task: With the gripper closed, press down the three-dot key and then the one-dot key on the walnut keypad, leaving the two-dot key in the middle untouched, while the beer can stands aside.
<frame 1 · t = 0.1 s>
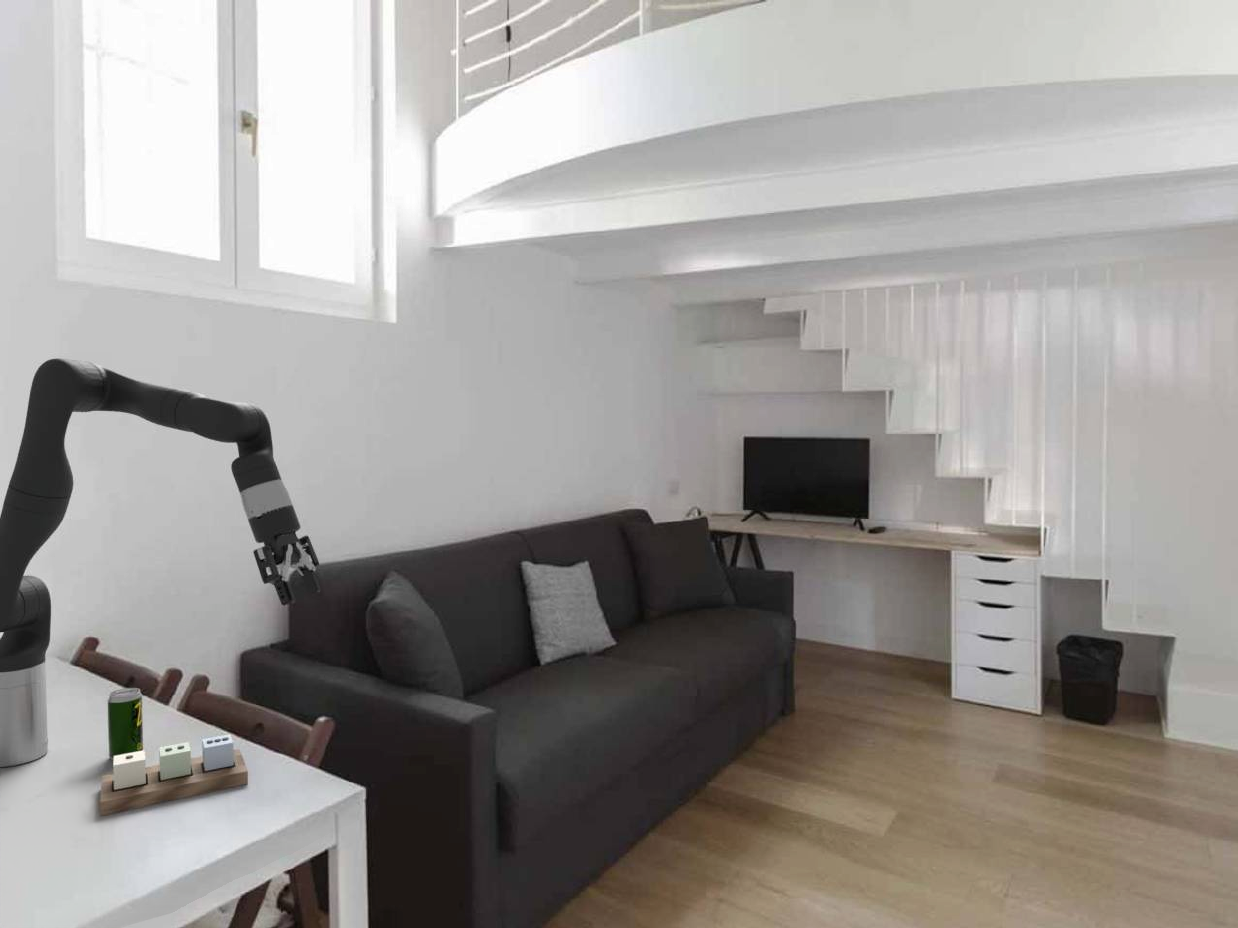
hand: (302, 598, 135), 31 cm above the table, tool tilted 20°, fingers open, 8 cm apart
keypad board: (175, 786, 132), on the table
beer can: (126, 757, 144), on the table
three dot key: (217, 751, 135), point 5 cm above the table, slide at 0.0 cm
one dot key: (129, 768, 128), point 5 cm above the table, slide at 0.0 cm
two dot key: (175, 759, 132), point 5 cm above the table, slide at 0.0 cm
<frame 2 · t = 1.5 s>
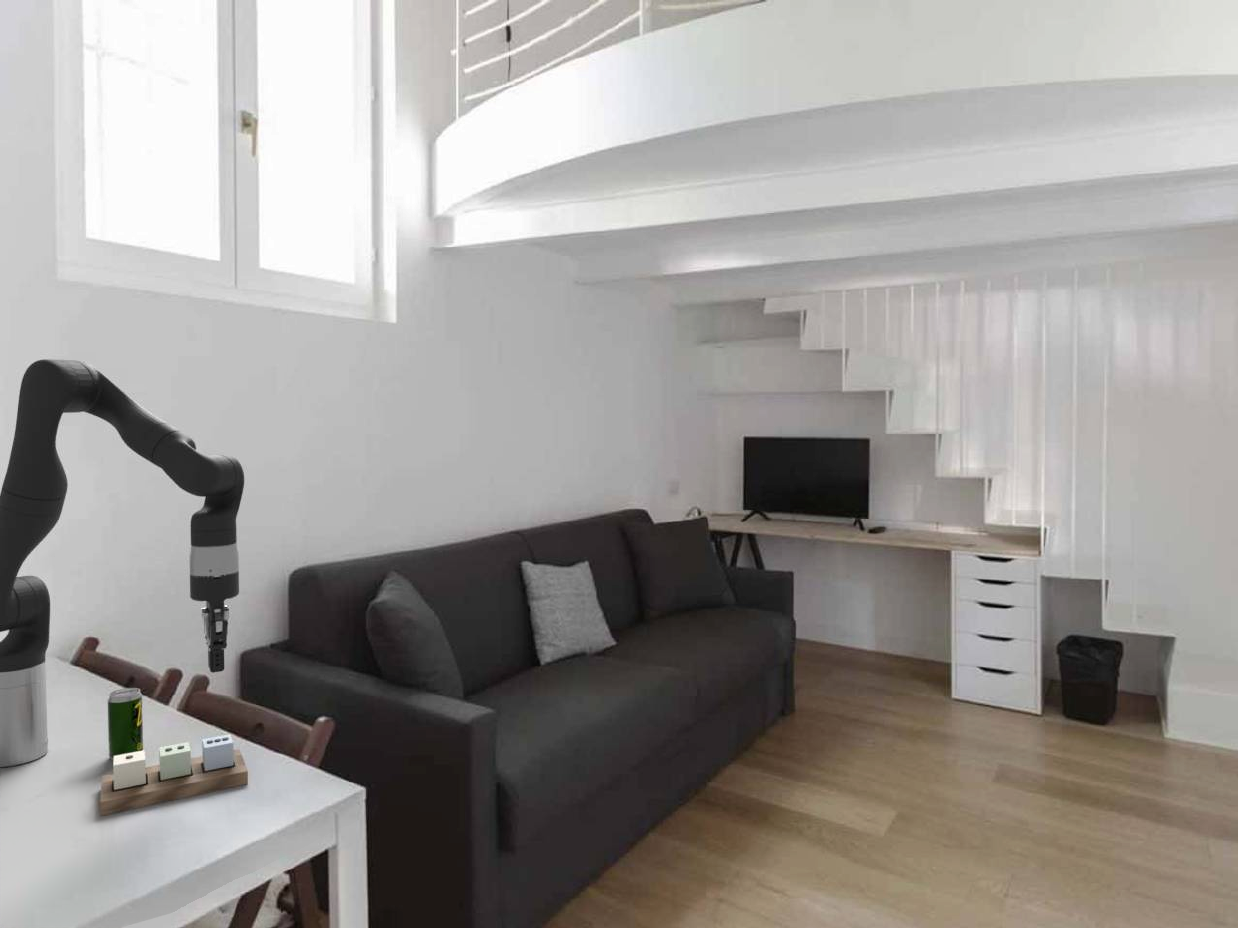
hand: (216, 669, 135), 19 cm above the table, tool pointing down, fingers closed
nothing on the table moved.
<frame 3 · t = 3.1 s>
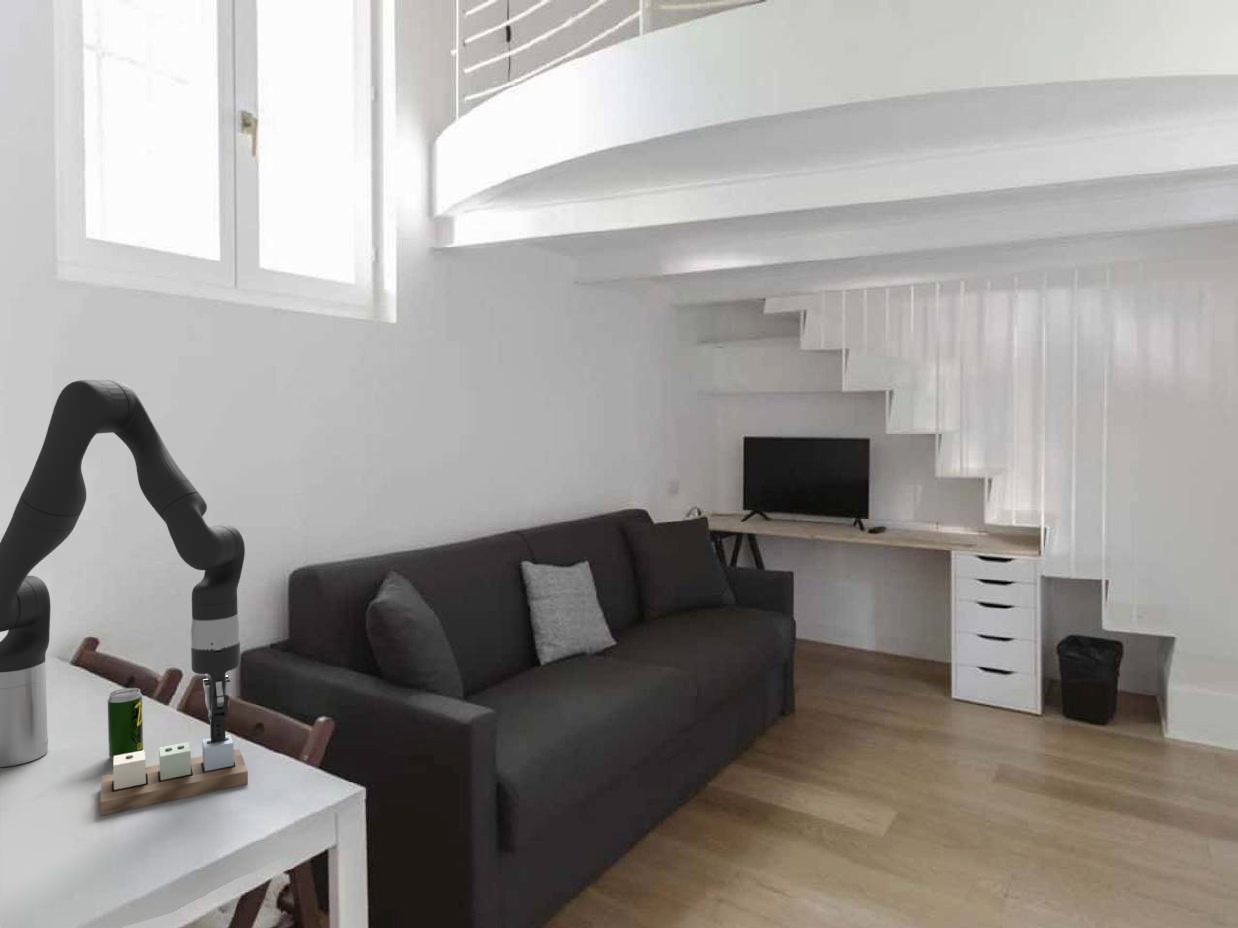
hand: (217, 740, 135), 7 cm above the table, tool pointing down, fingers closed
three dot key: (217, 751, 135), point 4 cm above the table, slide at 0.0 cm, touching gripper
everything else where it was.
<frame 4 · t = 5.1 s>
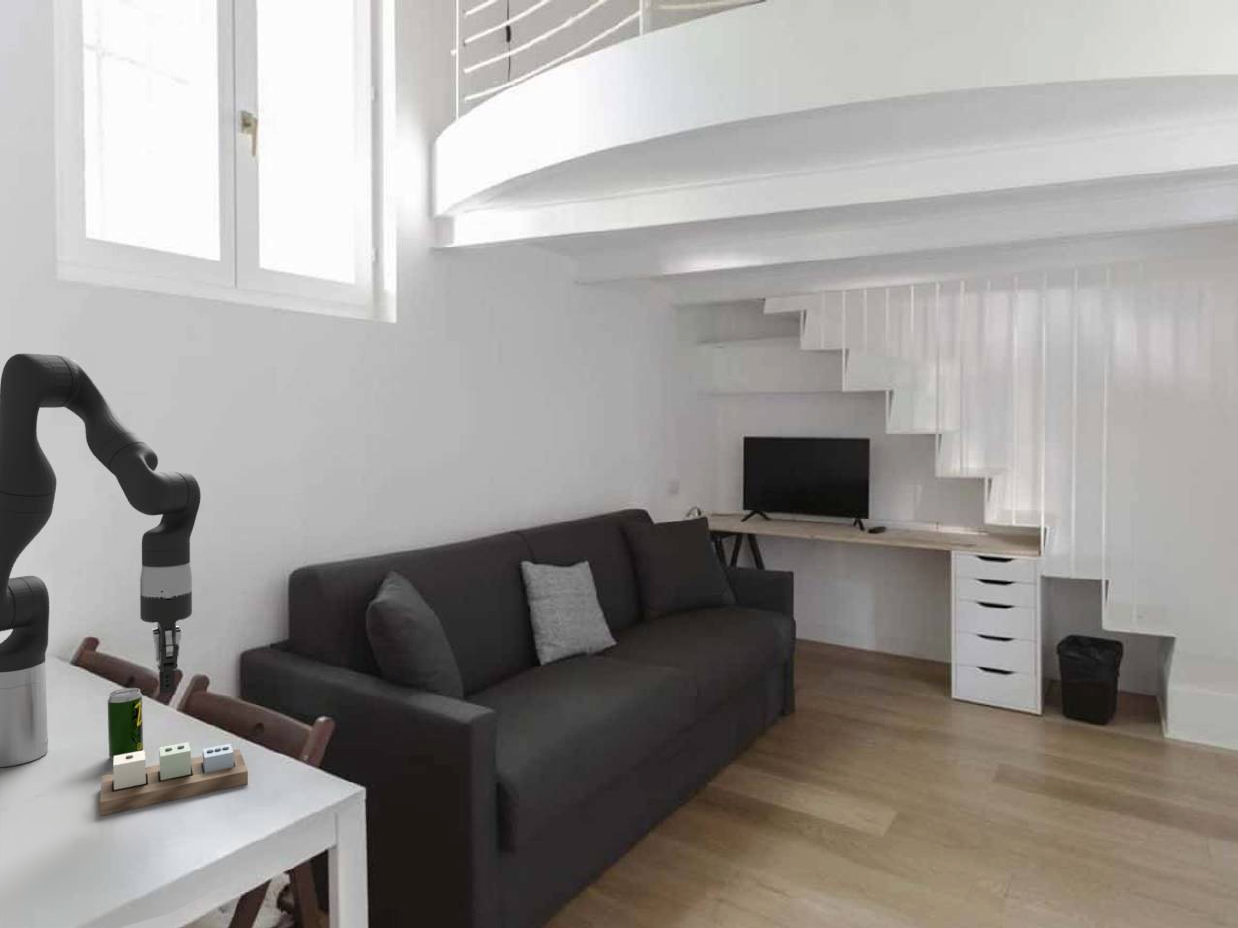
hand: (166, 691, 131), 16 cm above the table, tool pointing down, fingers closed
three dot key: (218, 761, 135), point 3 cm above the table, slide at 1.7 cm
everything else where it was.
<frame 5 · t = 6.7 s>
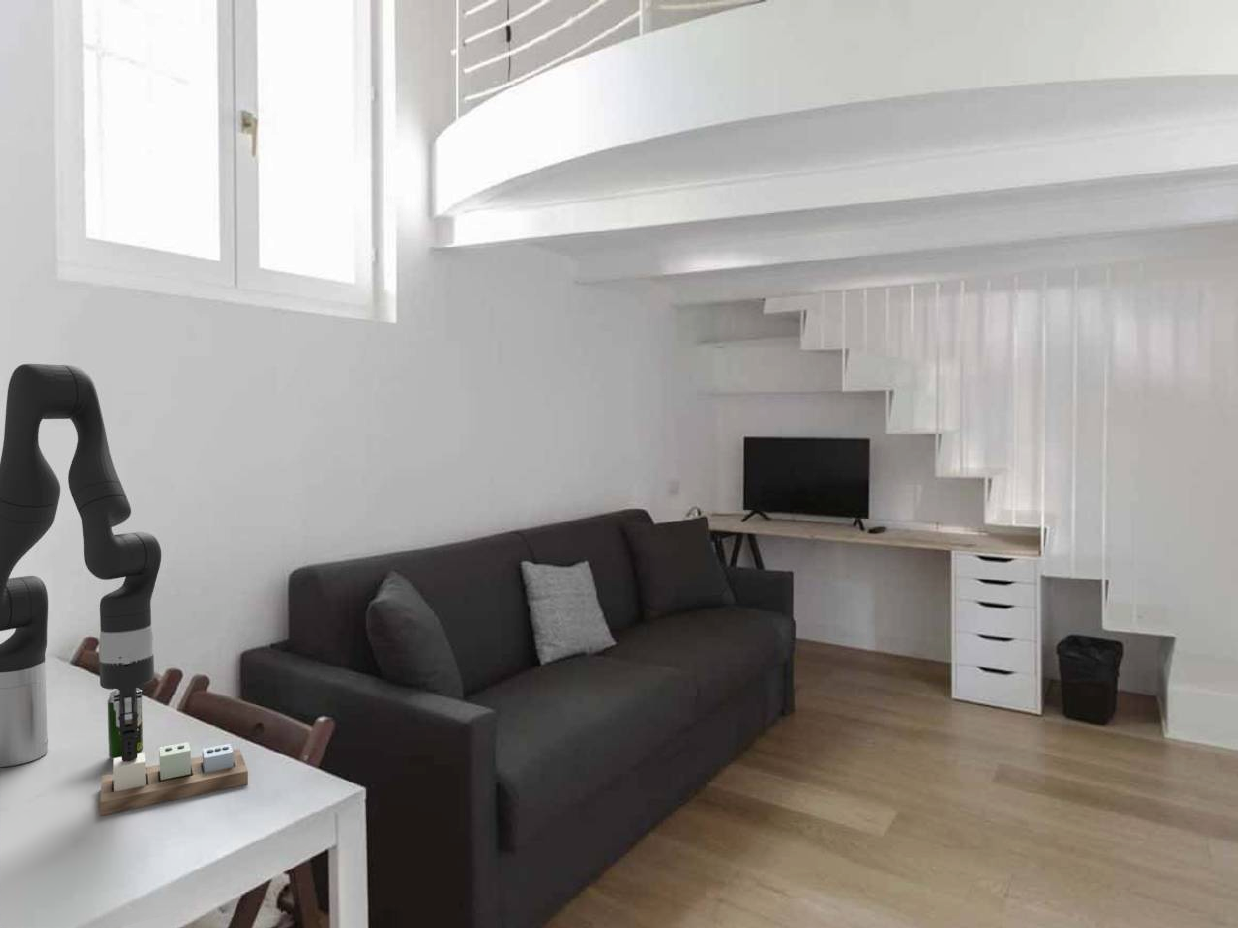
hand: (129, 758, 128), 6 cm above the table, tool pointing down, fingers closed
one dot key: (129, 771, 128), point 4 cm above the table, slide at 0.4 cm, touching gripper
everything else where it was.
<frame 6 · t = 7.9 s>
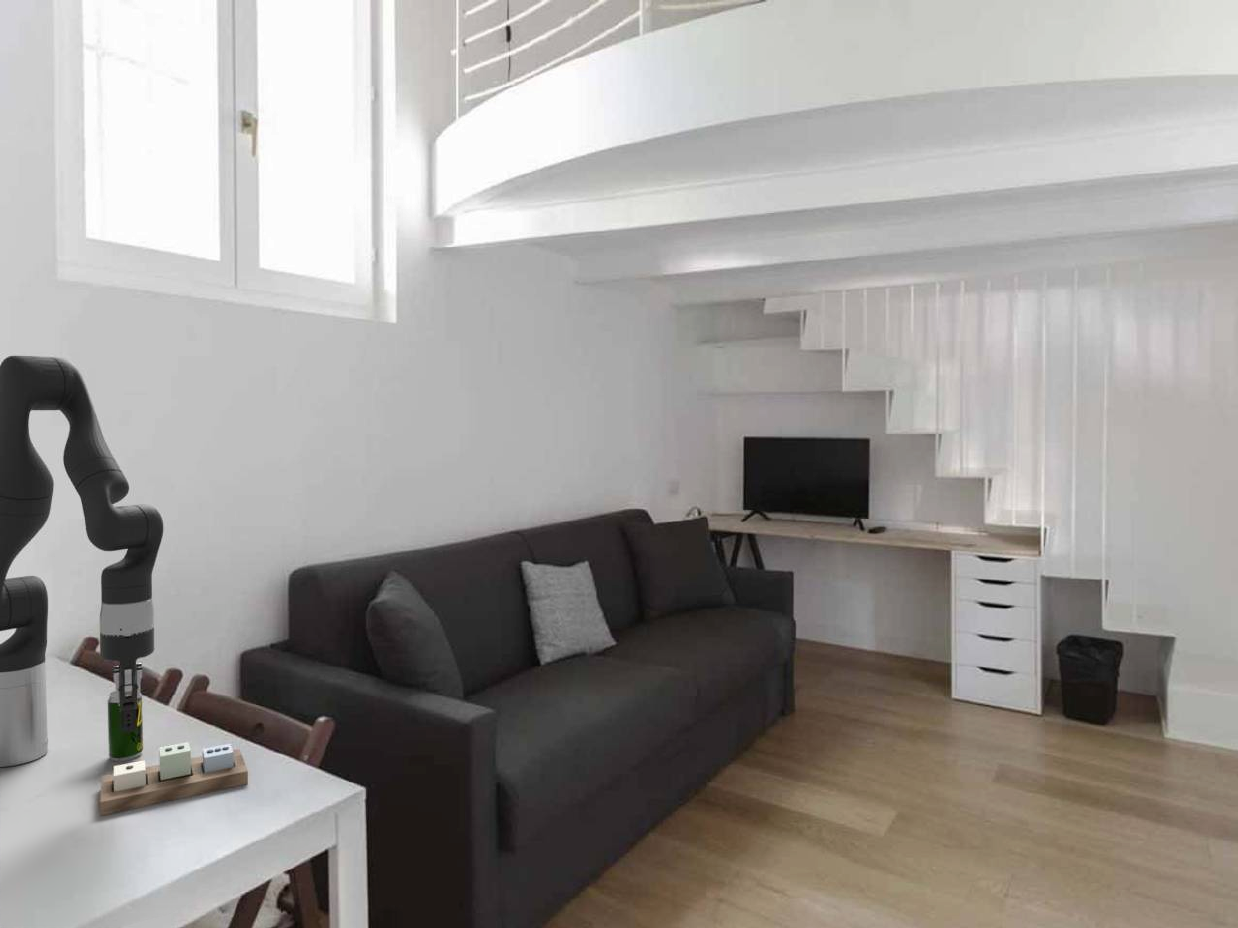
hand: (128, 730, 128), 11 cm above the table, tool pointing down, fingers closed
one dot key: (129, 779, 128), point 3 cm above the table, slide at 1.7 cm
everything else where it was.
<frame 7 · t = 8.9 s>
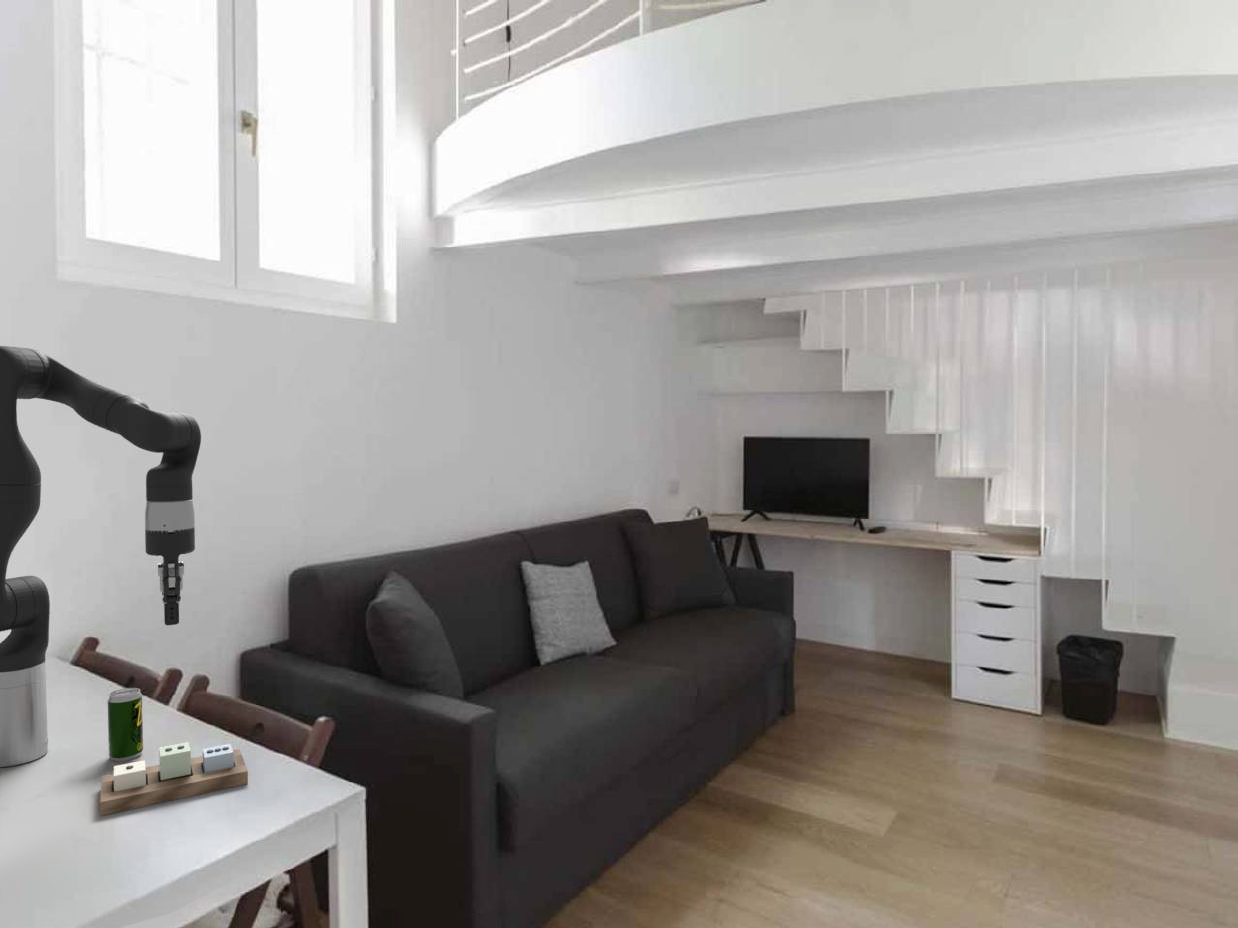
hand: (171, 623, 137), 26 cm above the table, tool pointing down, fingers closed
nothing on the table moved.
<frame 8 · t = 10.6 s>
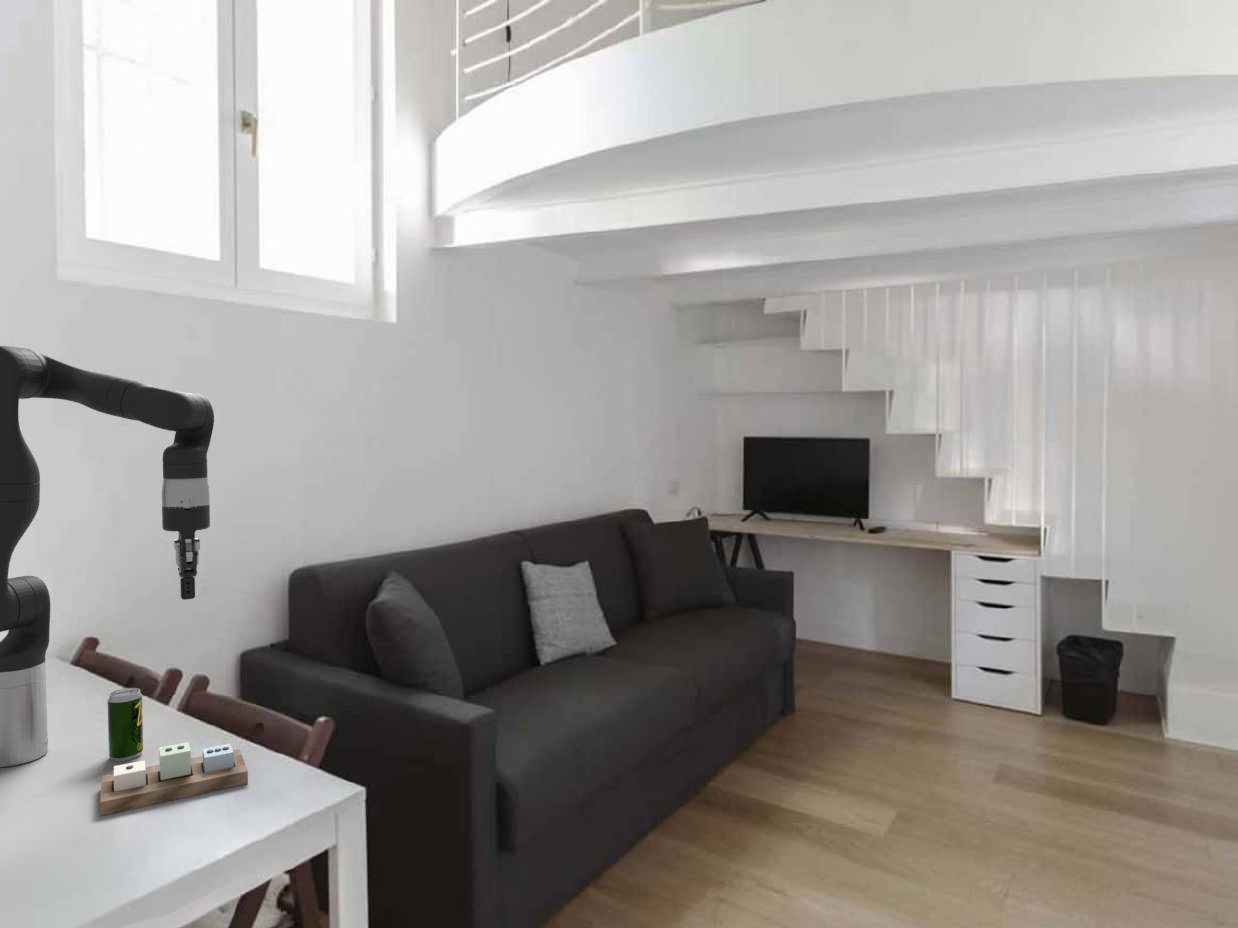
hand: (187, 598, 141), 30 cm above the table, tool pointing down, fingers closed
nothing on the table moved.
at the end: three dot key slide at 1.7 cm; one dot key slide at 1.7 cm; two dot key slide at 0.0 cm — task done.
